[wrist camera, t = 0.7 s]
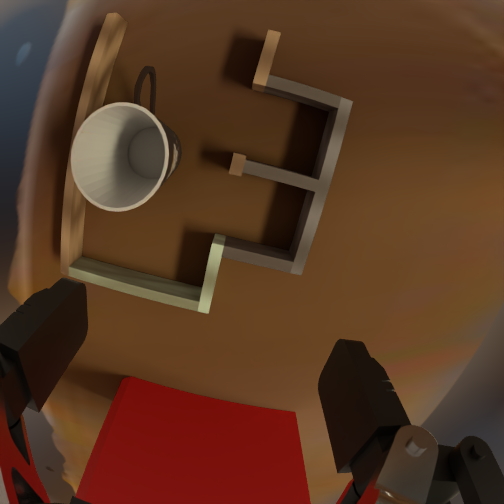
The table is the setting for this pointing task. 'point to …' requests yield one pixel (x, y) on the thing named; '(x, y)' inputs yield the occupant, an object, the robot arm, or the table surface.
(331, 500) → the table surface
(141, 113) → the coffee mug
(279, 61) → the table surface
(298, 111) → the table surface
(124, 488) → the book
